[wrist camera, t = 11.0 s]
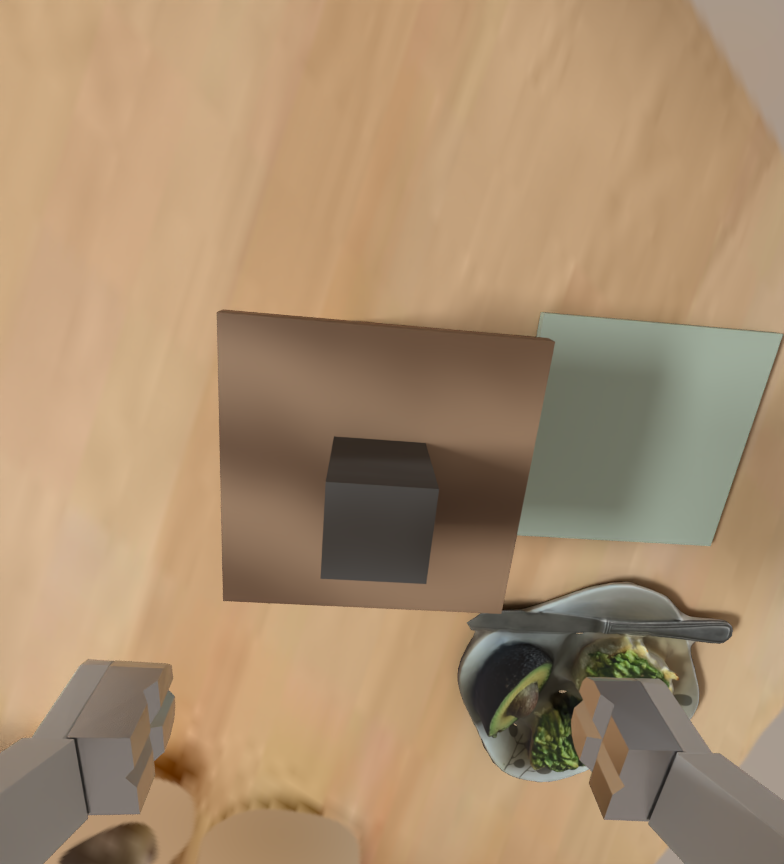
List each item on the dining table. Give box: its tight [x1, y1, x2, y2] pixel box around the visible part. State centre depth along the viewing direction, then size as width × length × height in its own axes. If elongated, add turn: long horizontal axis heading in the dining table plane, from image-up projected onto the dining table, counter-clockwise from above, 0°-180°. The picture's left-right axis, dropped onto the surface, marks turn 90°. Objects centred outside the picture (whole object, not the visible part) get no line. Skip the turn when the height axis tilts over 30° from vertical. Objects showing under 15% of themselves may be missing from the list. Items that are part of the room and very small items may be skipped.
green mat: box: [517, 312, 783, 546], centre depth 31 cm, size 14×14×1 cm
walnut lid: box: [217, 310, 555, 614], centre depth 19 cm, size 12×12×5 cm
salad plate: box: [458, 582, 733, 782], centre depth 36 cm, size 19×18×5 cm
